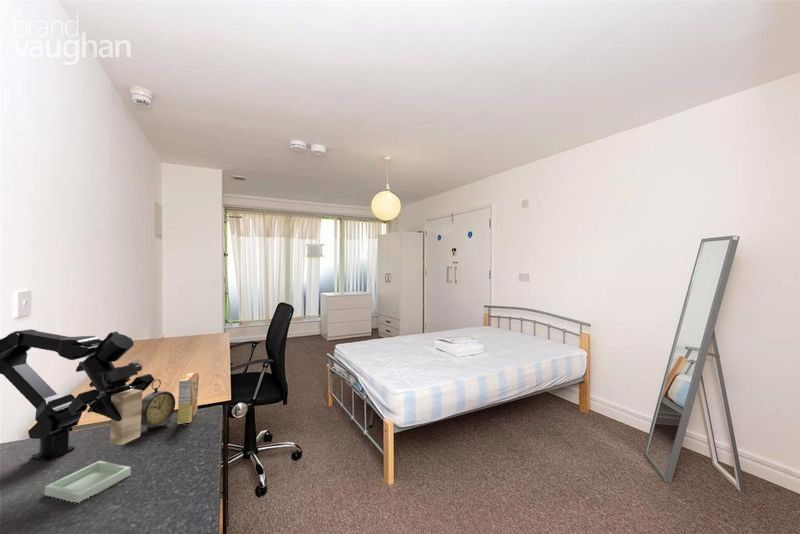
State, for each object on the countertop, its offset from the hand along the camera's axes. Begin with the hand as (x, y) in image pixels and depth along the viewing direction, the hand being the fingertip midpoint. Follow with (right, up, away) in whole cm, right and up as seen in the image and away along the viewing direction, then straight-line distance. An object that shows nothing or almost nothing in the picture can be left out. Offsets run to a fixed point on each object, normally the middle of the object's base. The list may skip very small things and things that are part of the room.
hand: (130, 416), depth 88 cm
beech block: (-1, -7, 0) cm, 7 cm away
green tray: (-1, -12, -10) cm, 16 cm away
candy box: (-1, -14, +26) cm, 29 cm away
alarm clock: (-8, -13, +19) cm, 25 cm away
